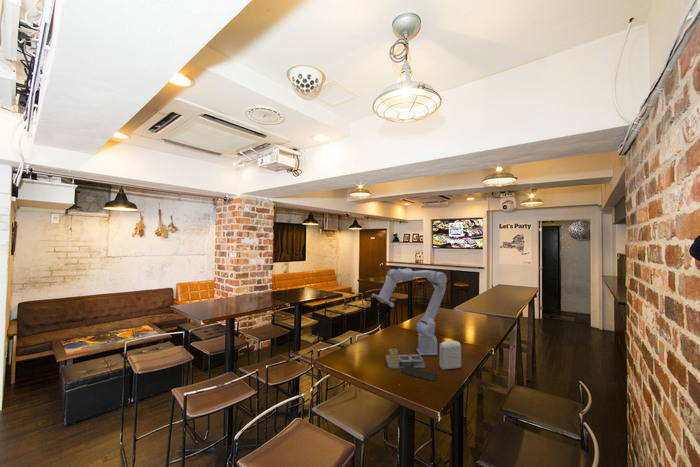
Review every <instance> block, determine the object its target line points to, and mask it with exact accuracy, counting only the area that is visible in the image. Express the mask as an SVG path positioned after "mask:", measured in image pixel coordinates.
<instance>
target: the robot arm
mask: <svg viewBox="0 0 700 467" xmlns="http://www.w3.org/2000/svg"><path fill="white" fill-rule="evenodd" d="M386 276H387V277H386V280H385V281H384V283H383V286H382V288H381V290H380V292H379V294H375V293H372V295H371V297H370V306H369V312H370V313H373V312H374V311H375V309H376V307H377V306H378V304H379V303H380V302H382V308H381V311H380V313H379V316H378V317H379V318H381V319H383V318H384V317H385V316H387V313H389V312H390V311H391V310H393V308H394V306H395V303H393V302H391V301H390V298H391V297H392V295H393V292H394V291H395V288H396V286H397V284H398V282H400V281H409V280H410V281H411V280H413V279H414V278H425V279H427V281H429V283H430V284H431V285H432V287H433V289H434V290H433V293H432V295H431V298H430V300H429V303H428V306H427V307H426V310H425V313H424V315H423V316H422V317H420V318H419V320H418V322H417V323H416V325H415V330H416V331H417V334H418V338H417V339H418V340H417V341H418V343H417V344H418V348H416V351H417V353H418V354H420V356H438V355H439V354H438V339H437V336H436V335H435V330H436V322H435V319H436V316H437V313H438V311H439V308H440V306H441V303H442V301H443V299H444V295H445V294H446V290H447V281H448V278H447V275H446V273H444V272H443V271H434V270H428V269H422V270H412V268H410V267H405V268H402V269H401V268H400V267H399V268H397V269H395V268H392V269H389V270H388V271H387V273H386Z"/></svg>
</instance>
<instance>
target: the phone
mask: <svg viewBox="0 0 700 467" xmlns="http://www.w3.org/2000/svg"><path fill="white" fill-rule="evenodd" d="M401 374H402V375H406V376H411V377H413V378H418V379H421V380H426V381H428V382H435V381H436V379H438V377H439V375H438V374H437V373H436V372H431V371H427V370H423V369H421V368H420V369H419V368H412V367H405V368H402V370H401Z"/></svg>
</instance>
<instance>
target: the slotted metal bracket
mask: <svg viewBox="0 0 700 467" xmlns="http://www.w3.org/2000/svg"><path fill="white" fill-rule="evenodd" d="M387 355H388V354H386V355H385V362H386V365H387V367H388V369H404V368H405V367H412V368H416V369H419V368H420V369H421V368H425V360H424V359H423V357H422V355H420V354H419V353H418V354H398V357H399V359H400V360H391V361H389V359H388V357H387Z"/></svg>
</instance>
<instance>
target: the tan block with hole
mask: <svg viewBox="0 0 700 467" xmlns="http://www.w3.org/2000/svg"><path fill="white" fill-rule="evenodd" d="M398 353H399V351H398V349H397V348H389V349H388V354H386V355H387V357H388V359H389V361H391V360H400V359H399V357H398V355H399V354H398Z"/></svg>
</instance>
